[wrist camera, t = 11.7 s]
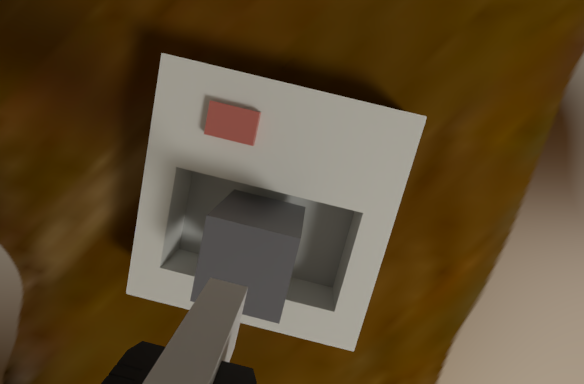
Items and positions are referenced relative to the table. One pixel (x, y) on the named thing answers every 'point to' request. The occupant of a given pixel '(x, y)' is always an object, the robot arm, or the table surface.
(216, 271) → the plug
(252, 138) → the socket plate
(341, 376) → the table surface
